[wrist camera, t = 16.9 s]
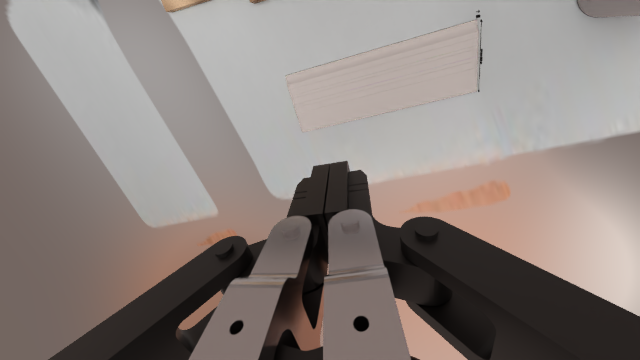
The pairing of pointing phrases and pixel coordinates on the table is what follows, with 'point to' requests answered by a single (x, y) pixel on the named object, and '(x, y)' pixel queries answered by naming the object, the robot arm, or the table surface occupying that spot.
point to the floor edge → (186, 4)
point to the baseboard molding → (388, 78)
